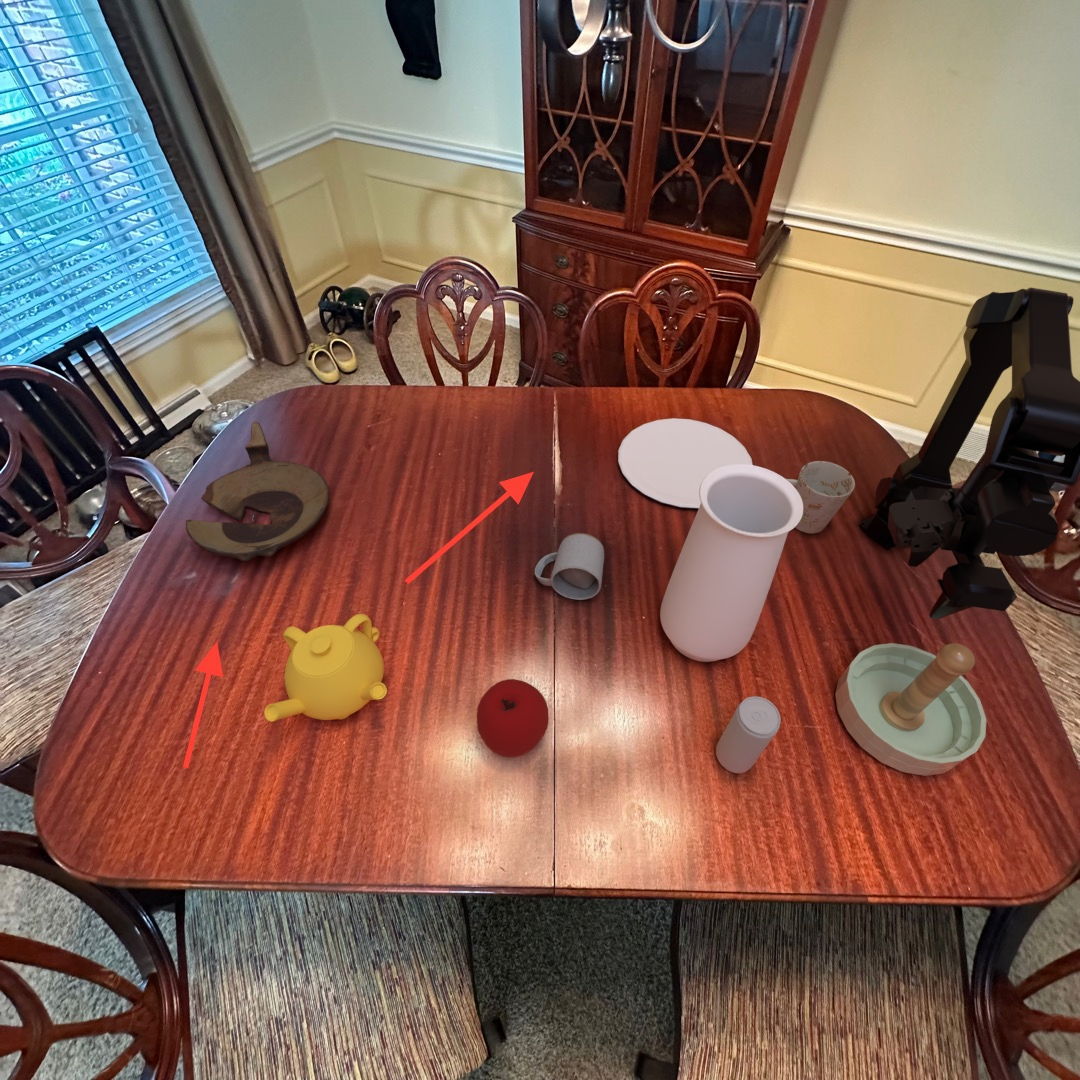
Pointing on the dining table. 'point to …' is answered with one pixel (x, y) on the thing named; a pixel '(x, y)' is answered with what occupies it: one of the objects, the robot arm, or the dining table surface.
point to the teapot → (331, 671)
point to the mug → (821, 493)
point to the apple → (512, 717)
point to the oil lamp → (261, 504)
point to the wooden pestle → (926, 687)
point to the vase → (728, 561)
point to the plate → (677, 458)
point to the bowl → (948, 718)
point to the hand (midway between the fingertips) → (922, 590)
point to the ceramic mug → (575, 567)
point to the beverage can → (747, 734)
